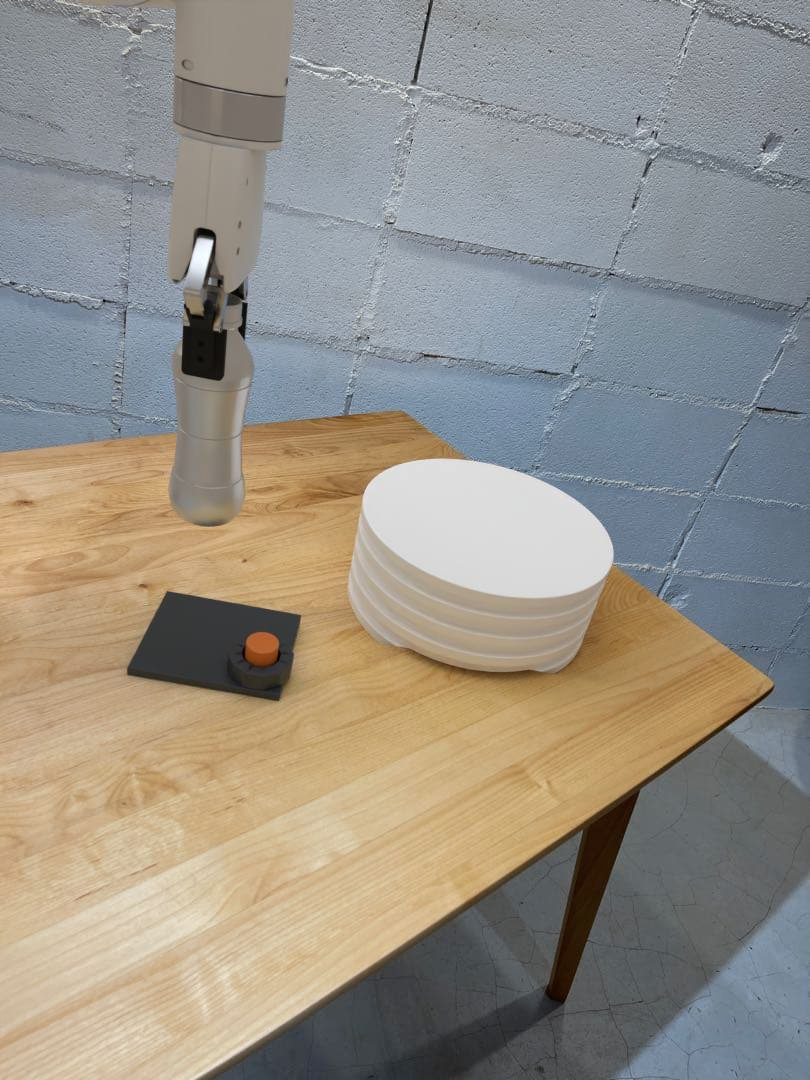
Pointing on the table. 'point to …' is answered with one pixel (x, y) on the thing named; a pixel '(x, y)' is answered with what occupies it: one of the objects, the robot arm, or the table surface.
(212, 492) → the plastic bottle
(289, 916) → the table surface
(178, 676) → the scale
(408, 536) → the plate stack
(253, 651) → the button
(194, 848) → the table surface
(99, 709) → the table surface
